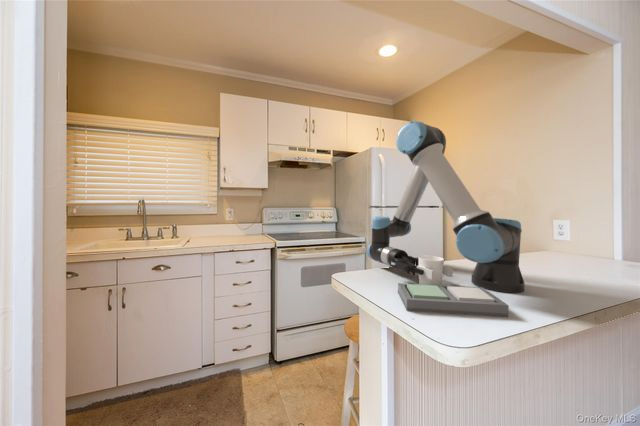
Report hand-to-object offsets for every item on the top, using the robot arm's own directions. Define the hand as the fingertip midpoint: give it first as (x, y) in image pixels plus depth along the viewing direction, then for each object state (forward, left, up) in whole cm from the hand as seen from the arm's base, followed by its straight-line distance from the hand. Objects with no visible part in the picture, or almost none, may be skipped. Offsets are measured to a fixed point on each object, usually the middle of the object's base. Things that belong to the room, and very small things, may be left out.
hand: (442, 273), depth 82 cm
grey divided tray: (+1, +9, -6) cm, 11 cm away
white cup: (+2, -4, -6) cm, 8 cm away
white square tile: (-4, +9, -4) cm, 10 cm away
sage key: (+7, +9, -4) cm, 12 cm away
